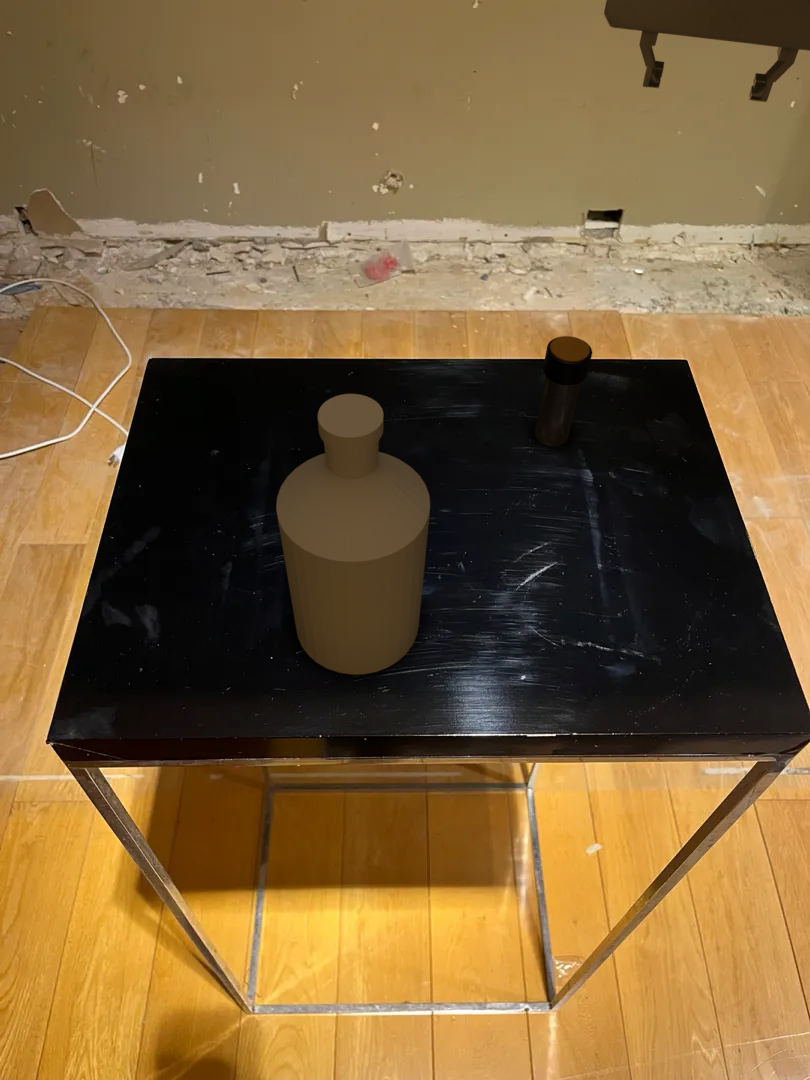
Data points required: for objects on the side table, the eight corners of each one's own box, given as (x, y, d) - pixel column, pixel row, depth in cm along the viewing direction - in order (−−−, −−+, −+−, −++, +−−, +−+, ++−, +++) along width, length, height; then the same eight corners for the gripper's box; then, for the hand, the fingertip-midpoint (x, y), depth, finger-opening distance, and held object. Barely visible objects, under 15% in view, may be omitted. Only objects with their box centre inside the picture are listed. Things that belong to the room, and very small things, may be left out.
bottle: (440, 656, 74) (462, 453, 55) (312, 693, 71) (287, 493, 52) (397, 558, 81) (403, 348, 62) (279, 588, 78) (247, 379, 59)
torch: (573, 425, 94) (594, 338, 85) (569, 452, 91) (590, 365, 82) (533, 418, 95) (550, 331, 86) (527, 445, 92) (544, 357, 83)
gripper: (619, -102, 63) (584, 90, 74) (899, -75, 60) (822, 121, 71) (625, -119, 67) (591, 65, 78) (888, -95, 65) (817, 93, 75)
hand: (703, 92), depth 74 cm, fingers open, 8 cm apart
